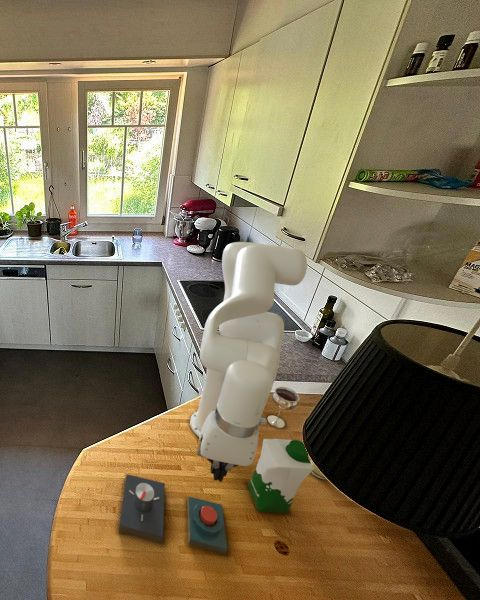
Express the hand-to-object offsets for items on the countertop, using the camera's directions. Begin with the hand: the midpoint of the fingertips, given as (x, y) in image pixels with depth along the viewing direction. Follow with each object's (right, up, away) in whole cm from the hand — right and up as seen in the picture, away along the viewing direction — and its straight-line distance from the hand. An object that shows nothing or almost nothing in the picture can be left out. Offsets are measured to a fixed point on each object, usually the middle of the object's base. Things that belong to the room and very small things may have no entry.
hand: (217, 474), depth 72 cm
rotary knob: (-15, -11, +8) cm, 20 cm away
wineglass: (+34, -1, +34) cm, 48 cm away
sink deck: (-15, -14, +9) cm, 22 cm away
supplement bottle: (+36, -9, +19) cm, 42 cm away
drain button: (0, -13, +4) cm, 13 cm away
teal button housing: (0, -16, +6) cm, 17 cm away
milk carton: (+18, -13, +12) cm, 25 cm away
